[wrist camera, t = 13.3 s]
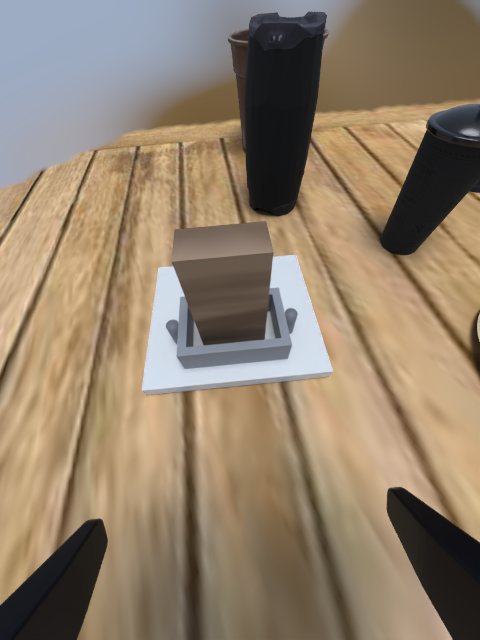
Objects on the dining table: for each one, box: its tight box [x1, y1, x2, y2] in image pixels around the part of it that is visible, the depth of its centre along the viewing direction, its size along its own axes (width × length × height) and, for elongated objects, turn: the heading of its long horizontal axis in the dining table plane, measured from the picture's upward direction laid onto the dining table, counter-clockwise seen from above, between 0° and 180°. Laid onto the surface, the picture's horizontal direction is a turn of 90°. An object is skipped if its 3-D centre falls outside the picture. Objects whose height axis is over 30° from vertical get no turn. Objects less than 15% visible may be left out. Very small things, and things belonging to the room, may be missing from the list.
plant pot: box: [228, 28, 329, 150], centre depth 45 cm, size 16×16×16 cm
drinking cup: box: [380, 104, 480, 255], centre depth 25 cm, size 8×8×20 cm
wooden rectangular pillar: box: [172, 221, 273, 345], centre depth 20 cm, size 4×6×12 cm, turn 95°
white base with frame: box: [142, 255, 333, 395], centre depth 26 cm, size 16×18×4 cm
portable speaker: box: [245, 12, 327, 216], centre depth 32 cm, size 9×9×20 cm
